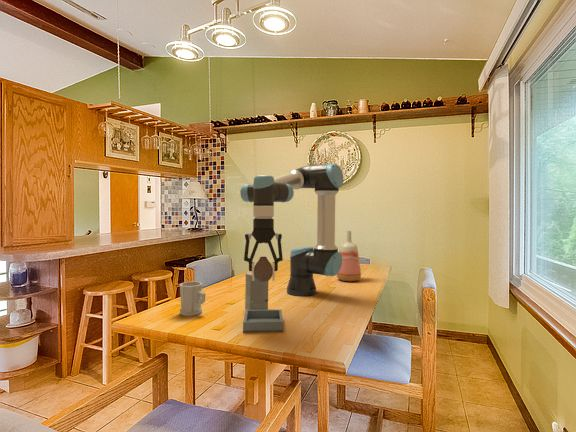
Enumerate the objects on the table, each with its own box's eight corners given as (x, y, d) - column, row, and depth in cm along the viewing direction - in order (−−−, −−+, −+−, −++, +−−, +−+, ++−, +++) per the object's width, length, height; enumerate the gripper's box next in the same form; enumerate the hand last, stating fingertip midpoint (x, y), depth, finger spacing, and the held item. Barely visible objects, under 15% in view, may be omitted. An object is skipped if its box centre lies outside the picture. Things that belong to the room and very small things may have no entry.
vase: (254, 278, 126) (254, 255, 125) (272, 278, 126) (272, 255, 126) (253, 283, 119) (253, 258, 118) (273, 282, 119) (273, 258, 119)
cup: (206, 308, 142) (206, 281, 141) (205, 315, 133) (205, 286, 132) (181, 310, 140) (181, 281, 139) (177, 317, 131) (177, 287, 130)
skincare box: (250, 314, 135) (250, 275, 134) (244, 309, 141) (244, 272, 141) (269, 311, 139) (269, 274, 138) (262, 307, 145) (262, 270, 144)
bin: (281, 318, 130) (281, 309, 130) (283, 331, 116) (283, 321, 116) (245, 318, 130) (245, 309, 129) (242, 332, 116) (243, 322, 115)
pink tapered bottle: (331, 279, 199) (332, 230, 199) (346, 276, 209) (346, 229, 208) (351, 284, 189) (351, 232, 188) (365, 280, 199) (366, 231, 198)
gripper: (289, 217, 126) (289, 277, 127) (237, 217, 125) (237, 277, 126) (291, 218, 119) (290, 282, 119) (235, 218, 117) (235, 282, 118)
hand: (263, 279), depth 123 cm, fingers closed on vase, 7 cm apart
